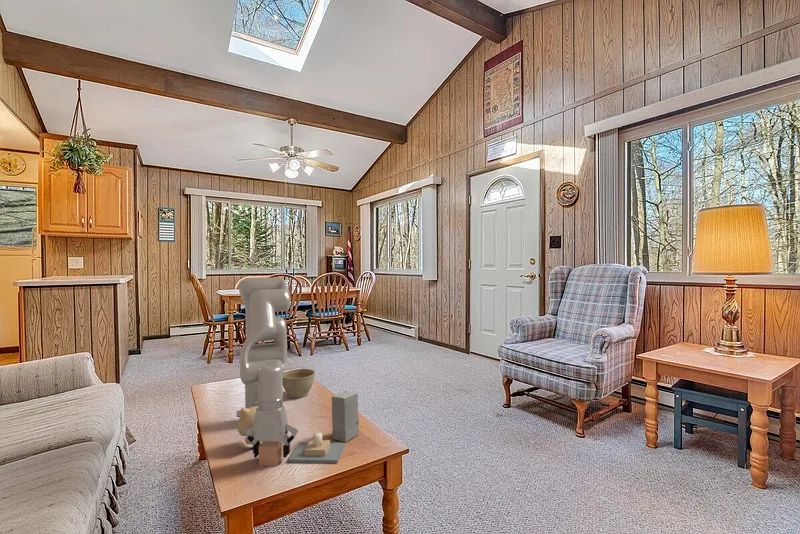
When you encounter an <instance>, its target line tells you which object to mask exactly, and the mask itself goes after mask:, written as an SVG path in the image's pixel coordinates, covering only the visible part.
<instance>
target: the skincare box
mask: <svg viewBox="0 0 800 534" xmlns="http://www.w3.org/2000/svg"><path fill="white" fill-rule="evenodd" d="M358 394H359V393H358V392H354V391H353V392H352V391H348V390H347V391H345V390H344V391H342V392H339V393H337V394H335V395H332V396H331V414H332V415H331V419H332V420H331V421H332V427H331V428H332V439H333V440H334V441H335V440H336V441H339V442H341V443H345V444H346V443H347V442H349V441H351V440H352V439H353V438H355V437H357V436H359V434H360V433H359V432H360V431H359V395H358Z"/></svg>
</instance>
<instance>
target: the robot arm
mask: <svg viewBox="0 0 800 534" xmlns="http://www.w3.org/2000/svg"><path fill="white" fill-rule="evenodd" d="M238 292H239V295H240V298H241V302H242V303H243V305H244V310H245V336H246V339H245V341H244V342H243V344H242V346H241V348H240V352H239V358H238V359H239V377H240V381H241V383H242V384H244V394H245V395H244V405H245V407H244V408H247V409H248V408H250V407H254V406H258V408H257V409H256V412H255V419H254V426H252V427H250V428H248V429H246V430H245V434H246V436H245V437H248V440H249V441H250V442H251V444H252V445H253V448H252V454H253V457H254V458H257V457H259V446H260V441H281V440H282V442H283V443H284V446H283V458H285V459H286V458H287V456H288V455H289V454H290V453H291V442H293V440H294V439H295V438H296V435H297V434H298V432H299V430H298V429H297V428H296V427H293V426H292V425H289V424H288V415H287V414H288V413H287V410H286V407H285V405H284V398H283V397H284V396H283V393H284V392H283V390H284V387H283V384H282V376H283V375H284V372H285V365H284V364H285V363H286V362H287V360H288V336H287V335H288V333H287V332H288V330H287V323H286V320H285V319H284V318H283V317H281V316H276V312H286V311H288V310H289V309H290V308H291V302H292V301H291V293H290V290H289V287H288V286H287V284H286V280H285V279H284V278H283V277H273V276H272V277H249V278H244V279H241V280H240V282H239V284H238ZM268 341H269V343H258V342H268ZM270 341H275V342H270ZM257 343H258V344H257ZM240 412H241V409H240V410H239V409H237V410H236V415H235V416H236V418H240ZM252 431H253V434H251V432H252ZM288 433H291V435H290V436H289V435H288Z"/></svg>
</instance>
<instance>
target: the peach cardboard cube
mask: <svg viewBox="0 0 800 534" xmlns="http://www.w3.org/2000/svg"><path fill="white" fill-rule="evenodd" d="M283 446H284V443H283V442H282V440H281V441H263V442H262V443H261V445H260V446H259V455H258V466H268V467H269V466H270V467H271V466H273V467H274V466H277V467H278V465H279V464H280V462H281V461H282V460H283V458H284V457H283Z"/></svg>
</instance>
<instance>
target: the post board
mask: <svg viewBox="0 0 800 534" xmlns="http://www.w3.org/2000/svg"><path fill="white" fill-rule="evenodd" d="M312 434H313V435H312V439H310V440H309V441H307V442H306V441H300V442H299V443H298V444H297V446H296V447H295V449H294V450H293V452H292V454H291V455H290V457H289V458H288V463H292V464H293V463H295V464H296V463H299V464H303V463H305V464H338V462H339V460H340V458H341V455H342V453H343V450H344V448H345V445H346V443H345V442H331V439H323V433H322V432H315V433H312Z"/></svg>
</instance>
